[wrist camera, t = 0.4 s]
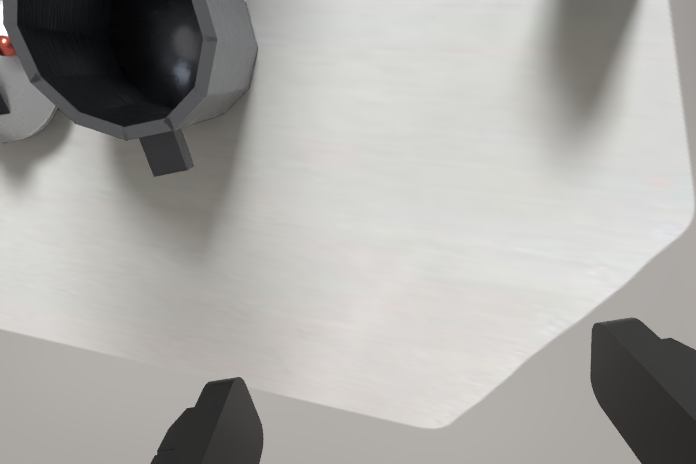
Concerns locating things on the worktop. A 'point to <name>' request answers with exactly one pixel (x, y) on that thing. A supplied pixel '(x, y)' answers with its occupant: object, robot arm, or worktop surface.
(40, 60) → the graphite pot
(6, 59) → the steel lid
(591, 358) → the robot arm
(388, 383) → the worktop surface
